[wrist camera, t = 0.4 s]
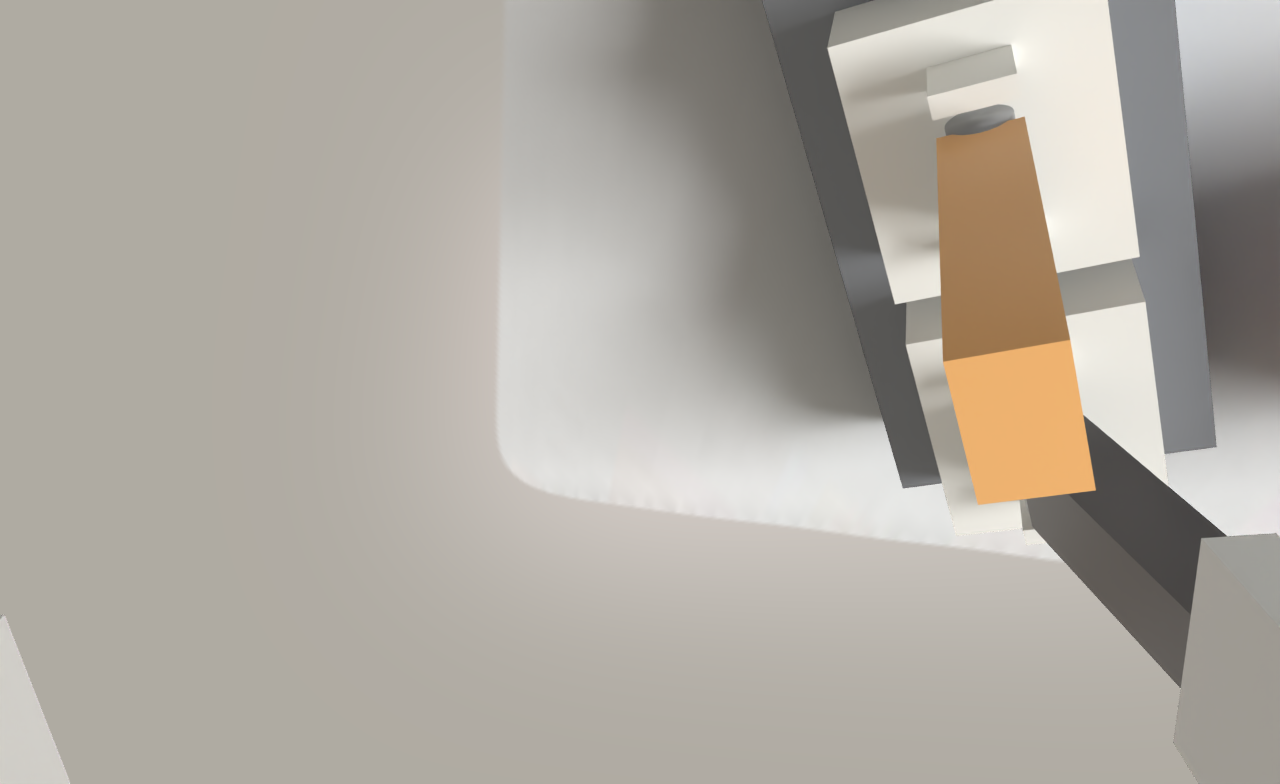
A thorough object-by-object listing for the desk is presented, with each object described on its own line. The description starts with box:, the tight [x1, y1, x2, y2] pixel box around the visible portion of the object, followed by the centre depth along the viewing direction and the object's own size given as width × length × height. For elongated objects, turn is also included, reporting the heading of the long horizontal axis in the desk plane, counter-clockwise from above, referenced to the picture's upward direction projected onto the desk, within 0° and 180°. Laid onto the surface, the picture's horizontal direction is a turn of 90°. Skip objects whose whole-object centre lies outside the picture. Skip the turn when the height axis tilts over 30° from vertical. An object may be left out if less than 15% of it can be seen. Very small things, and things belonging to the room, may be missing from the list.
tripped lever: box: [936, 104, 1096, 505], centre depth 23 cm, size 2×3×11 cm, turn 20°
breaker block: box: [762, 0, 1227, 688], centre depth 26 cm, size 10×26×18 cm, turn 20°
